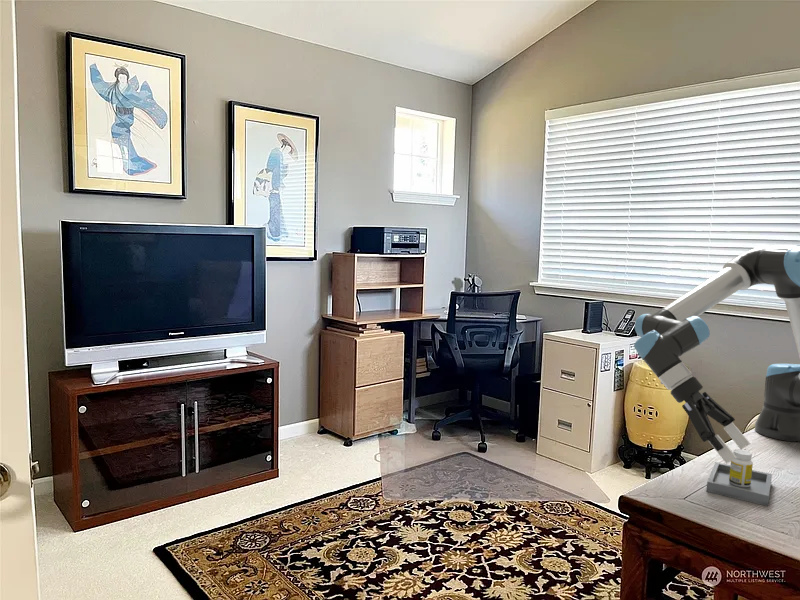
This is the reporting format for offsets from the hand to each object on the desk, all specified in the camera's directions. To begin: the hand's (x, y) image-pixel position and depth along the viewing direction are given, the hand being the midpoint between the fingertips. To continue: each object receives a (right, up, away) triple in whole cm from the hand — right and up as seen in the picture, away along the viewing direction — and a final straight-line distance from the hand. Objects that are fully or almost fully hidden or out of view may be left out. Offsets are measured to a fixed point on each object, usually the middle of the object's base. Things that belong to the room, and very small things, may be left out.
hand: (739, 453), depth 149 cm
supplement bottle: (+1, -8, +1) cm, 8 cm away
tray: (0, -9, +1) cm, 9 cm away
